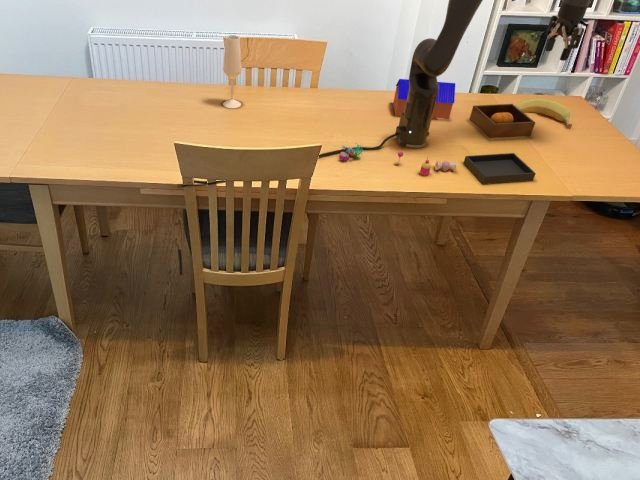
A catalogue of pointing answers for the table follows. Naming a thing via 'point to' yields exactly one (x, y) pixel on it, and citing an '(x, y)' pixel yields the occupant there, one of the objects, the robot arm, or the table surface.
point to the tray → (499, 168)
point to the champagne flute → (232, 65)
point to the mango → (502, 118)
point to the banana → (546, 109)
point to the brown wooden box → (500, 130)
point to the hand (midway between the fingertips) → (555, 55)
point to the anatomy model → (350, 152)
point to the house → (442, 101)
